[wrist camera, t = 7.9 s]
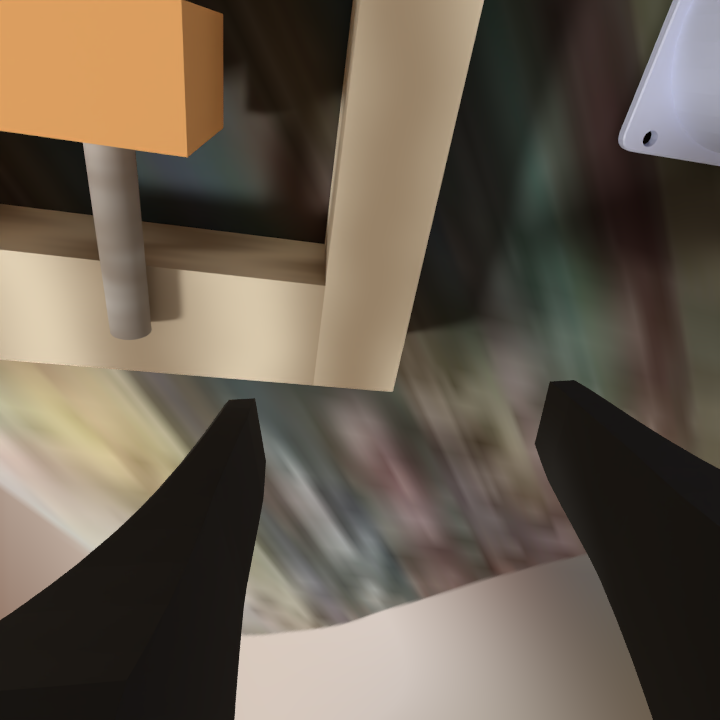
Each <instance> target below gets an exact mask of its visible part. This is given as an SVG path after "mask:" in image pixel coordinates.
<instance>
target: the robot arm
mask: <svg viewBox="0 0 720 720" xmlns="http://www.w3.org/2000/svg"><path fill="white" fill-rule="evenodd" d="M649 131H651V139H650V140H649V141H648V142H647V143H646V144H643V138H644V136H645V135H646V133H648V132H649ZM618 141H619V145H620V146H621V148H623V149H625V150H628V151H631V152H637V153H643V154H649V155H655V156H661V157H667V158H673V159H679V160H685V161H691V162H697V163H704V164H710V165H716V166H720V0H673V2H672V4H671V7H670V9H669V12H668V14H667V16H666V19H665V21H664V24H663V26H662V29H661V31H660V34H659V36H658V39H657V41H656V44H655V46H654V49H653V51H652V54H651V56H650V59H649V61H648V64H647V66H646V69H645V71H644V74H643V76H642V79H641V81H640V84H639V86H638V89H637V91H636V93H635V96H634V98H633V101H632V103H631V106H630V108H629V111H628V113H627V116H626V118H625V121H624V123H623V126H622V128H621V131H620V133H619V138H618ZM535 446H536V448H537V451H538V454H539V457H540V460H541V463H542V466H543V468H544V471H545V473H546V476H547V478H548V481H549V483H550V485H551V487H552V489H553V491H554V492H555V494H556V496H557V498H558V500H559V502H560V504H561V506H562V508H563V510H564V511H565V513H566V515H567V517H568V519H569V521H570V523H571V524H572V526H573V528H574V530H575V532H576V534H577V536H578V537H579V539H580V541H581V543H582V545H583V547H584V549H585V550H586V552H587V554H588V556H589V558H590V560H591V562H592V564H593V566H594V568H595V570H596V572H597V574H598V576H599V578H600V580H601V583H602V585H603V587H604V590H605V593H606V595H607V597H608V600H609V602H610V604H611V607H612V609H613V612H614V614H615V617H616V619H617V622H618V624H619V627H620V630H621V632H622V635H623V637H624V640H625V643H626V645H627V648H628V650H629V653H630V655H631V658H632V661H633V664H634V666H635V669H636V672H637V675H638V678H639V681H640V684H641V686H642V689H643V692H644V695H645V697H646V701H647V703H648V706H649V709H650V712H651V715H652V718H653V720H720V469H718V468H716V467H714V466H713V465H711V464H709V463H707V462H705V461H703V460H702V459H700V458H698V457H696V456H695V455H693V454H691V453H689V452H688V451H686V450H684V449H683V448H681V447H679V446H677V445H676V444H674V443H672V442H671V441H669V440H667V439H666V438H664V437H662V436H661V435H659V434H658V433H656V432H654V431H653V430H651V429H650V428H648V427H646V426H645V425H643V424H642V423H640V422H639V421H637V420H636V419H634V418H632V417H631V416H629V415H628V414H626V413H625V412H623V411H622V410H620V409H619V408H617V407H616V406H614V405H613V404H611V403H610V402H608V401H607V400H605V399H604V398H602V397H601V396H599V395H597V394H596V393H594V392H593V391H591V390H590V389H588V388H586V387H585V386H583V385H582V384H580V383H578V382H576V381H574V380H571V381H554V382H550V383H549V388H548V392H547V396H546V400H545V404H544V408H543V412H542V416H541V421H540V425H539V429H538V433H537V437H536V441H535ZM265 466H266V459H265V453H264V448H263V442H262V436H261V430H260V425H259V419H258V413H257V407H256V402H255V399H237V400H229V401H228V402H227V403H226V404H225V405H224V407H223V408H222V409H221V411H220V412H219V414H218V415H217V416H216V418H215V419H214V421H213V422H212V423H211V425H210V426H209V428H208V429H207V430H206V432H205V433H204V434H203V436H202V437H201V438H200V440H199V441H198V442H197V443H196V445H195V446H194V447H193V448H192V450H191V451H190V452H189V454H188V455H187V456H186V457H185V459H184V460H183V461H182V462H181V464H180V465H179V466H178V467H177V468H176V469H175V471H174V472H173V473H172V474H171V475H170V476H169V477H168V478H167V480H166V481H165V482H164V483H163V484H162V485H161V486H160V488H159V489H158V490H157V491H156V492H155V493H154V494H153V495H152V496H151V497H150V498H149V499H148V500H147V501H146V503H145V504H144V505H143V506H142V507H141V508H140V509H139V510H138V511H137V512H136V513H135V514H134V515H133V516H131V517H130V518H129V519H128V520H127V521H126V522H125V523H124V524H123V525H122V526H121V527H120V528H119V529H118V530H117V531H116V532H114V533H113V534H112V535H111V536H110V537H109V538H108V539H106V540H105V541H104V542H103V543H102V544H101V545H99V546H98V547H97V548H96V549H95V550H93V551H92V552H91V553H90V554H89V555H88V556H86V557H85V558H84V559H83V560H82V561H81V562H79V563H78V564H77V565H76V566H74V567H73V568H72V569H70V570H69V571H68V572H67V573H65V574H64V575H63V576H61V577H60V578H59V579H58V580H56V581H55V582H53V583H52V584H51V585H50V586H48V587H47V588H45V589H44V590H43V591H41V592H40V593H39V594H37V595H36V596H34V597H33V598H32V599H30V600H29V601H28V602H26V603H25V604H24V605H22V606H20V607H19V608H18V609H16V610H15V611H13V612H12V613H10V614H9V615H7V616H6V617H4V618H3V619H1V620H0V720H234V716H235V702H236V689H237V676H238V664H239V651H240V640H241V630H242V620H243V609H244V601H245V594H246V588H247V582H248V577H249V572H250V567H251V561H252V556H253V551H254V546H255V540H256V535H257V530H258V525H259V519H260V514H261V509H262V503H263V495H264V482H265Z"/></svg>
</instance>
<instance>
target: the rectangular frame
mask: <svg viewBox="0 0 720 720" xmlns="http://www.w3.org/2000/svg"><path fill="white" fill-rule="evenodd" d="M483 3H484V0H353V3H352V11H351V20H350V29H349V37H348V46H347V55H346V63H345V72H344V80H343V89H342V98H341V106H340V115H339V124H338V132H337V141H336V150H335V158H334V167H333V175H332V184H331V193H330V201H329V210H328V219H327V227H326V236H325V244H321V243H313V242H305V241H297V240H289V239H281V238H272V237H264V236H256V235H248V234H240V233H232V232H224V231H216V230H208V229H200V228H192V227H183V226H175V225H167V224H159V223H151V222H143V221H142V219H141V208H140V197H139V186H138V175H137V164H136V153H135V150H132V149H125V148H118V147H111V146H104V145H97V144H90V143H83V148H84V154H85V161H86V168H87V175H88V182H89V189H90V196H91V203H92V210H93V215H86V214H78V213H70V212H62V211H54V210H46V209H38V208H30V207H22V206H14V205H6V204H0V360H11V361H24V362H36V363H48V364H60V365H72V366H85V367H97V368H109V369H121V370H133V371H145V372H158V373H170V374H182V375H194V376H206V377H218V378H231V379H243V380H255V381H267V382H279V383H292V384H304V385H316V386H328V387H340V388H352V389H365V390H377V391H389V392H393V388H394V384H395V380H396V375H397V371H398V367H399V363H400V358H401V354H402V350H403V345H404V341H405V337H406V333H407V328H408V324H409V320H410V315H411V311H412V307H413V303H414V298H415V294H416V290H417V285H418V281H419V277H420V273H421V268H422V264H423V260H424V256H425V251H426V247H427V243H428V238H429V234H430V230H431V226H432V221H433V217H434V213H435V208H436V204H437V200H438V196H439V191H440V187H441V183H442V178H443V174H444V170H445V166H446V161H447V157H448V153H449V148H450V144H451V140H452V136H453V131H454V127H455V123H456V118H457V114H458V110H459V106H460V101H461V97H462V93H463V88H464V84H465V80H466V76H467V71H468V67H469V63H470V58H471V54H472V50H473V46H474V41H475V37H476V33H477V28H478V24H479V20H480V16H481V11H482V7H483Z"/></svg>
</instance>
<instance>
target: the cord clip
mask: <svg viewBox="0 0 720 720" xmlns="http://www.w3.org/2000/svg"><path fill="white" fill-rule="evenodd" d="M222 128H223V14H222V13H219V12H216V11H213V10H210V9H208V8H205V7H202V6H199V5H196V4H194V3H191V2H188V1H185V0H0V131H5V132H12V133H19V134H27V135H34V136H41V137H48V138H55V139H62V140H69V141H76V142H83V143H90V144H97V145H104V146H111V147H118V148H125V149H132V150H139V151H146V152H153V153H160V154H167V155H174V156H181V157H188V156H190V155H191V154H192V153H193V152H194V151H196V150H197V149H198V148H199V147H201V146H202V145H203V144H204V143H205V142H207V141H208V140H209V139H210V138H211V137H213V136H214V135H215V134H216V133H218V132H219V131H220V130H221V129H222Z"/></svg>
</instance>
